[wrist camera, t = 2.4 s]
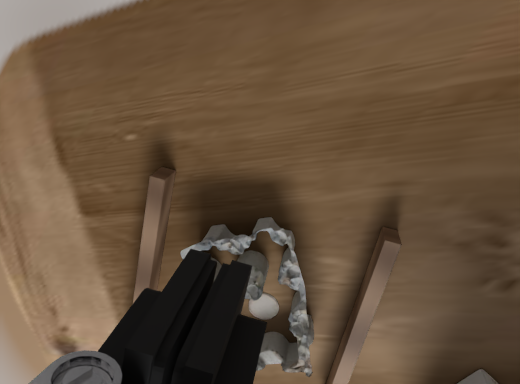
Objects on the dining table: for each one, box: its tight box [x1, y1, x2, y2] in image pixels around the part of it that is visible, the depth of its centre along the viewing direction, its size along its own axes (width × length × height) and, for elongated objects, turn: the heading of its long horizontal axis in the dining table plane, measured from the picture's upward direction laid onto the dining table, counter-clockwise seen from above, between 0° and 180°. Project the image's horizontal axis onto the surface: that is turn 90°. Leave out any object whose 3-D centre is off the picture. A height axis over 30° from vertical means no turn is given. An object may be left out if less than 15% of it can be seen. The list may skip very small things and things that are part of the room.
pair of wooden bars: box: [133, 167, 402, 384], centre depth 31 cm, size 14×16×2 cm
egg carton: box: [181, 217, 314, 377], centre depth 30 cm, size 11×8×4 cm
